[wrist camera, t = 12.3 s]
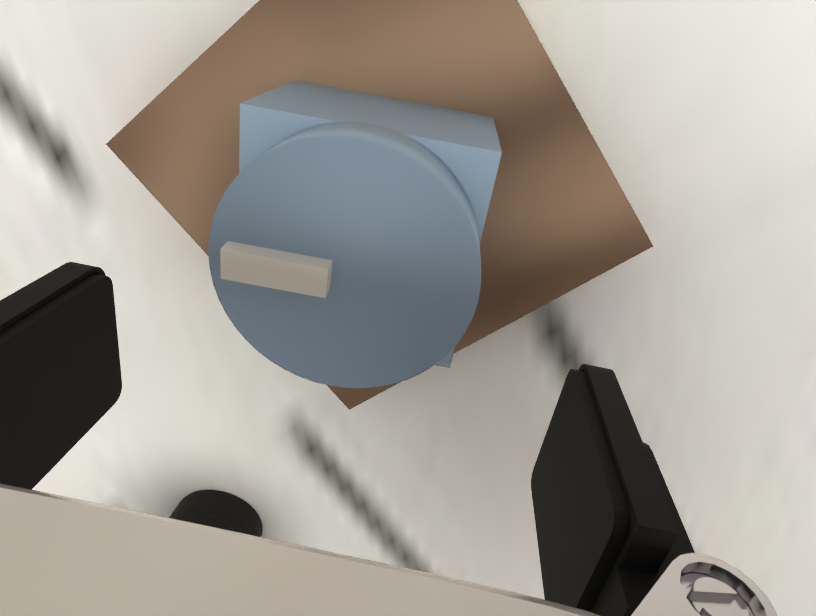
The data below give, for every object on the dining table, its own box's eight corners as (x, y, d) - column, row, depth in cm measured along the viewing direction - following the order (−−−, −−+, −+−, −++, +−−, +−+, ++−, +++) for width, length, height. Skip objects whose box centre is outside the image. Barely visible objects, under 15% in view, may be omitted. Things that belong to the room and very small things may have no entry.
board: (643, 234, 21) (652, 246, 20) (354, 393, 25) (349, 409, 24) (431, -148, 16) (429, -159, 15) (124, 137, 21) (106, 144, 20)
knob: (496, 114, 18) (514, 173, 12) (454, 296, 21) (450, 419, 15) (291, 76, 18) (196, 114, 12) (281, 263, 21) (202, 373, 15)
